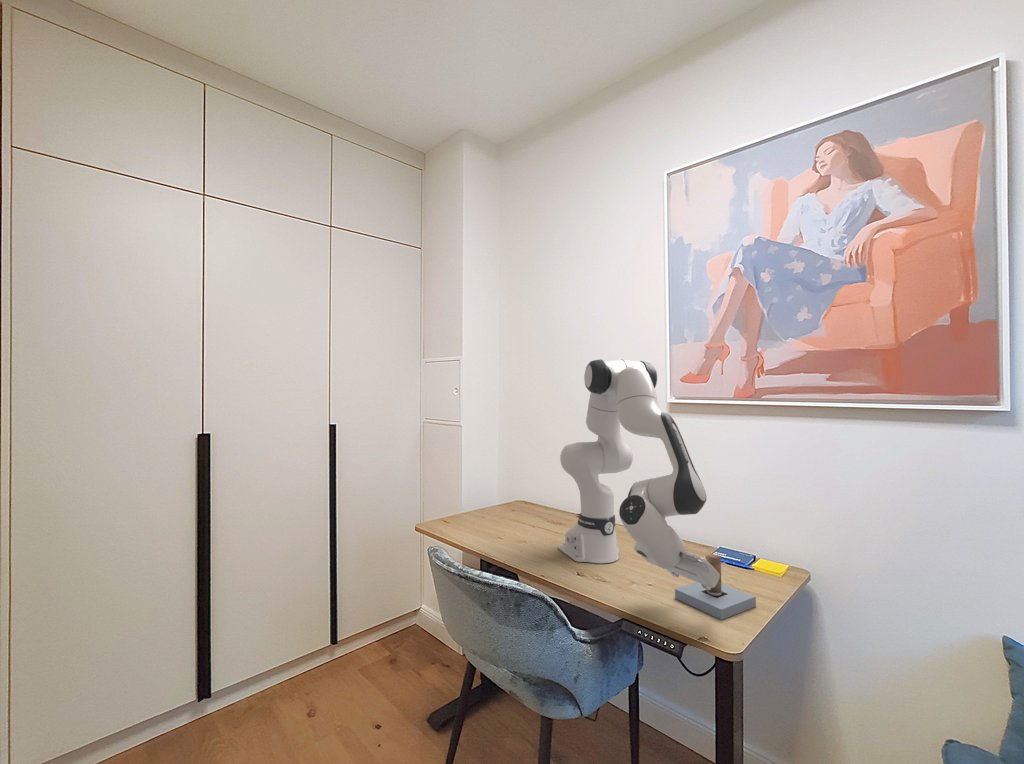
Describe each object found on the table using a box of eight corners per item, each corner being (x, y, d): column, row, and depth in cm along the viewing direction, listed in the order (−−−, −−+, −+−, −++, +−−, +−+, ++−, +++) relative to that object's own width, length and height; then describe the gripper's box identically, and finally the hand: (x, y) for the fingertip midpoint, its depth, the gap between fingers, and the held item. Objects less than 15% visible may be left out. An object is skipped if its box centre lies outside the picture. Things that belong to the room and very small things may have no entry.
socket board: (675, 598, 124) (674, 588, 124) (708, 587, 131) (708, 578, 132) (721, 619, 112) (721, 609, 112) (755, 606, 119) (755, 596, 119)
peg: (704, 601, 123) (703, 555, 123) (712, 598, 124) (712, 553, 125) (716, 606, 119) (715, 559, 120) (724, 603, 121) (723, 557, 122)
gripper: (708, 549, 105) (735, 583, 110) (640, 527, 123) (666, 558, 127) (695, 572, 103) (724, 607, 107) (628, 547, 120) (655, 577, 125)
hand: (692, 580), depth 117 cm, fingers open, 8 cm apart
